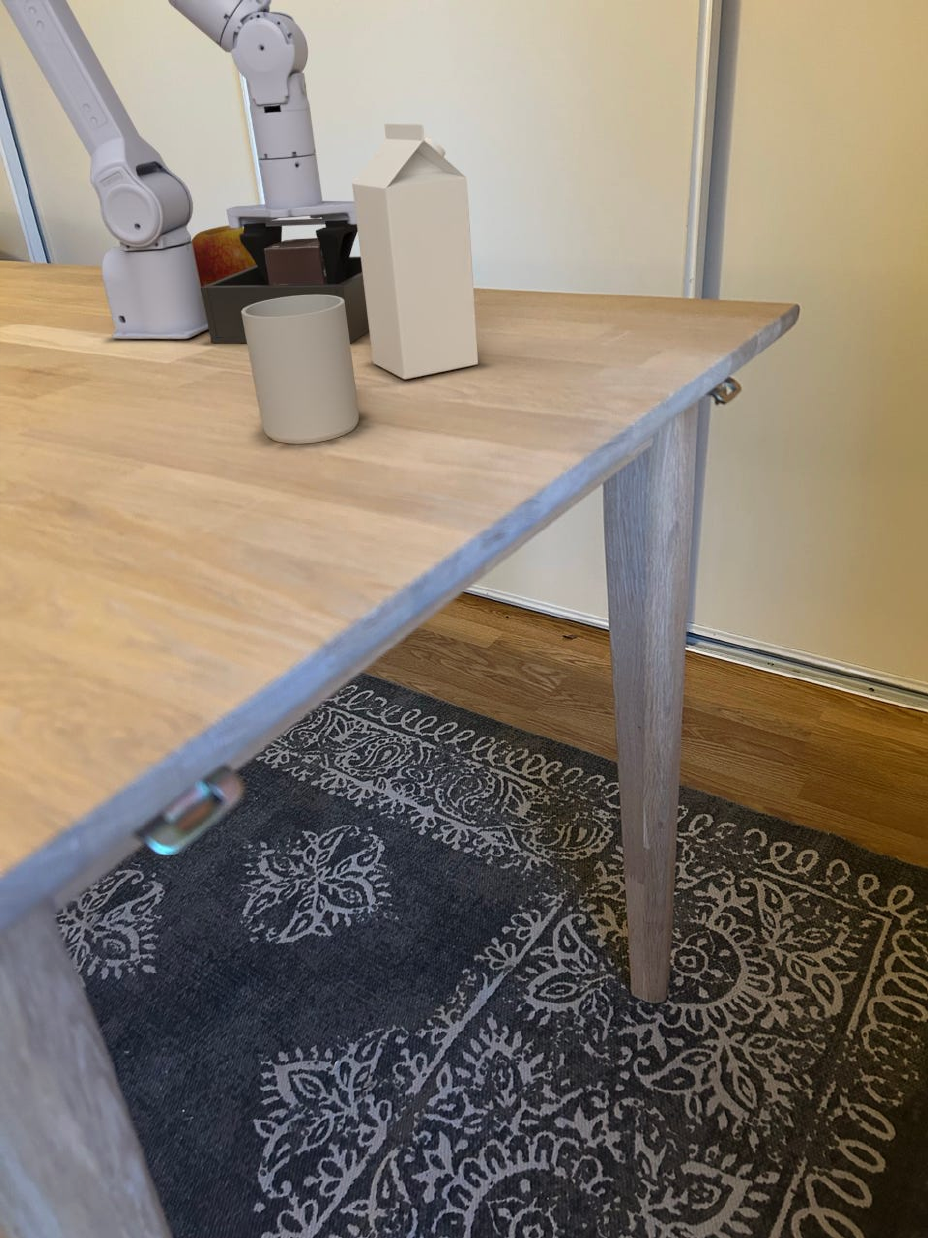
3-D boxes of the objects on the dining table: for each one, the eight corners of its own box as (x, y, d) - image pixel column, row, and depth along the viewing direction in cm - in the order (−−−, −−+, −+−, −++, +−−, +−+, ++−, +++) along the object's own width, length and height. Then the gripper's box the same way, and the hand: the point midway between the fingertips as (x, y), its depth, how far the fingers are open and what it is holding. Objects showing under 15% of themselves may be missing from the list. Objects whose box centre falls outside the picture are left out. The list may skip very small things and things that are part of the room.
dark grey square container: (211, 343, 97) (199, 287, 94) (279, 308, 110) (271, 258, 107) (350, 343, 92) (343, 285, 90) (405, 307, 105) (400, 255, 102)
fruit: (178, 302, 117) (164, 233, 113) (226, 286, 124) (214, 221, 120) (238, 304, 113) (225, 233, 109) (285, 289, 120) (274, 221, 116)
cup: (278, 452, 67) (255, 323, 62) (245, 415, 75) (222, 299, 70) (373, 431, 69) (358, 305, 64) (331, 398, 77) (315, 284, 73)
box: (328, 321, 97) (318, 245, 94) (274, 322, 99) (261, 248, 95) (346, 308, 103) (337, 235, 99) (294, 309, 104) (283, 238, 100)
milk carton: (404, 381, 80) (379, 128, 70) (372, 364, 85) (344, 127, 76) (479, 366, 82) (464, 120, 73) (443, 350, 88) (424, 120, 78)
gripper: (201, 164, 92) (229, 307, 99) (338, 156, 88) (357, 307, 94) (237, 157, 98) (260, 293, 104) (366, 149, 93) (382, 291, 100)
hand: (308, 298), depth 100 cm, fingers closed on box, 6 cm apart
